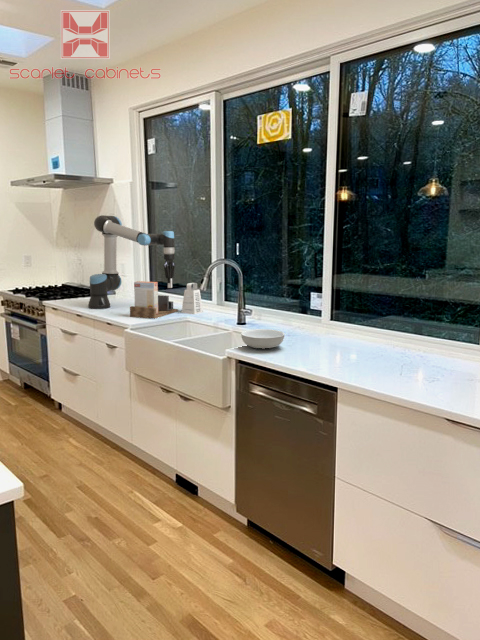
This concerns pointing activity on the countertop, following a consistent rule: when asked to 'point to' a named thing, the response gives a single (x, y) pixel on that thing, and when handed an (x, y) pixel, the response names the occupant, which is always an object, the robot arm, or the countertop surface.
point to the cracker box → (146, 294)
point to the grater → (192, 300)
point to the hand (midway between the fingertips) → (170, 287)
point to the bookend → (164, 303)
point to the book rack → (148, 312)
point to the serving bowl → (262, 338)
